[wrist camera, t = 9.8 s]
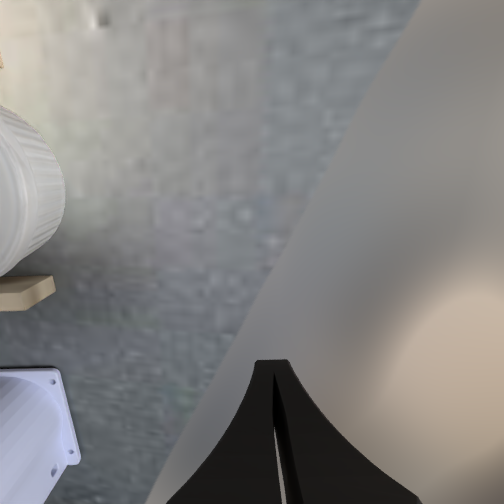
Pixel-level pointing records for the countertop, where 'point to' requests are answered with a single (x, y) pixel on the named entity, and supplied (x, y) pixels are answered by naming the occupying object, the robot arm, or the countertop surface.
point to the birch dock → (23, 287)
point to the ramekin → (26, 190)
